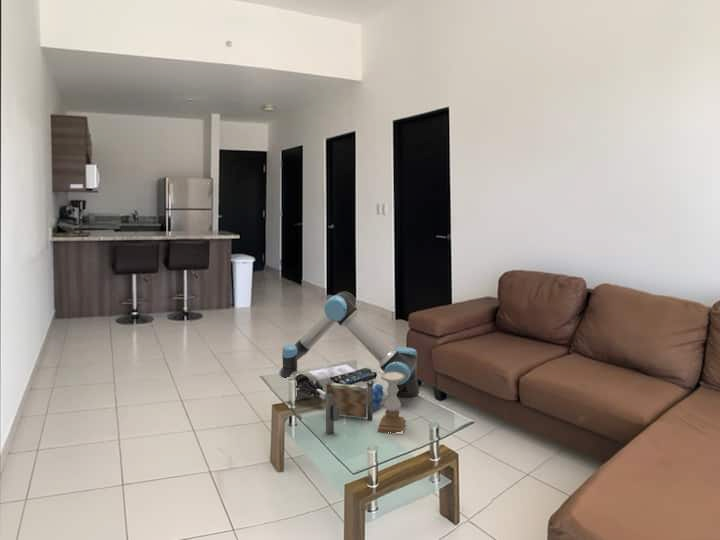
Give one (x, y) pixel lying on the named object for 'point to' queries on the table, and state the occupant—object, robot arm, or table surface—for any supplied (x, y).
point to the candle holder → (392, 405)
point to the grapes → (377, 396)
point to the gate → (349, 399)
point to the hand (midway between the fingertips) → (324, 396)
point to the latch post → (331, 413)
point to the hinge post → (370, 400)
